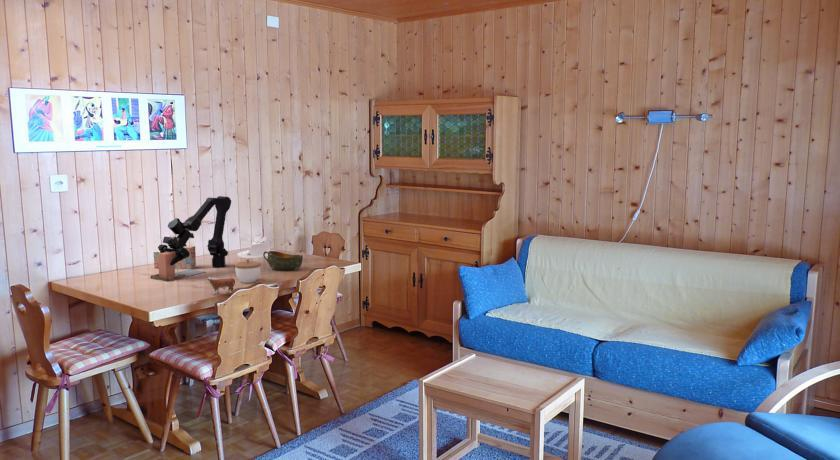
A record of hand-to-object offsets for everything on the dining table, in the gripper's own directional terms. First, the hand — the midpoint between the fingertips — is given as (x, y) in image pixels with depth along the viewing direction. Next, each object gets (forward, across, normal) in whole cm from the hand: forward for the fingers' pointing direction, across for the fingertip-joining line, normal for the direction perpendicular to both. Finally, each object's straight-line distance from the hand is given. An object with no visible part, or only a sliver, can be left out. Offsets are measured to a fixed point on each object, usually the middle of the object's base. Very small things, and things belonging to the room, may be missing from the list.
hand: (164, 264), depth 341 cm
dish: (-47, -8, +58) cm, 75 cm away
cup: (-29, +36, +40) cm, 61 cm away
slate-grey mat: (-5, 0, +16) cm, 17 cm away
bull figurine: (+11, +49, 0) cm, 50 cm away
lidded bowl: (-7, +41, +18) cm, 45 cm away
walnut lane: (+4, 0, +6) cm, 8 cm away
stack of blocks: (-10, -18, +20) cm, 29 cm away
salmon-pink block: (+5, 0, +6) cm, 8 cm away
